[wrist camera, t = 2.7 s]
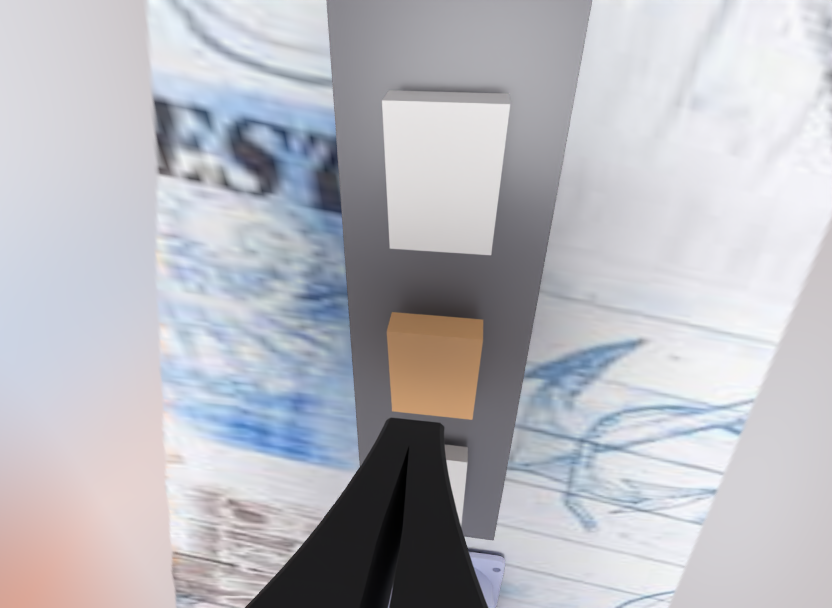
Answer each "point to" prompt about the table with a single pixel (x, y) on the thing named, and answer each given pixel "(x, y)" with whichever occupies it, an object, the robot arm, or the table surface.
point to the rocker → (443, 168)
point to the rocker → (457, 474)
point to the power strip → (516, 211)
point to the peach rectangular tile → (434, 364)
